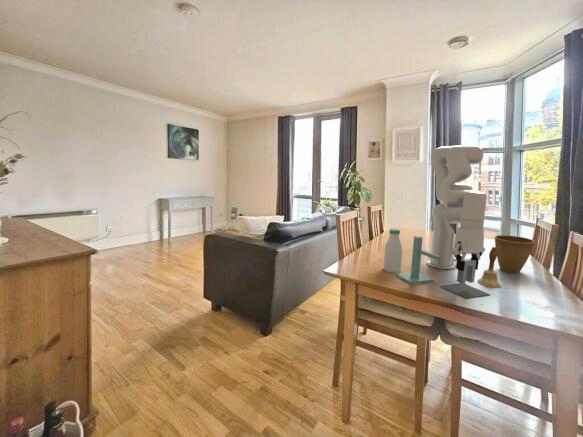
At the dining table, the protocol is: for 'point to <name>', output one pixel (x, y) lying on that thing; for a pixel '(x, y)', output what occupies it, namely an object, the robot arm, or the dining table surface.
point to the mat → (464, 290)
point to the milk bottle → (393, 252)
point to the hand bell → (490, 272)
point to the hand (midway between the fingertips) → (466, 268)
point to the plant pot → (512, 252)
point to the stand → (417, 264)
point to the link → (467, 272)
